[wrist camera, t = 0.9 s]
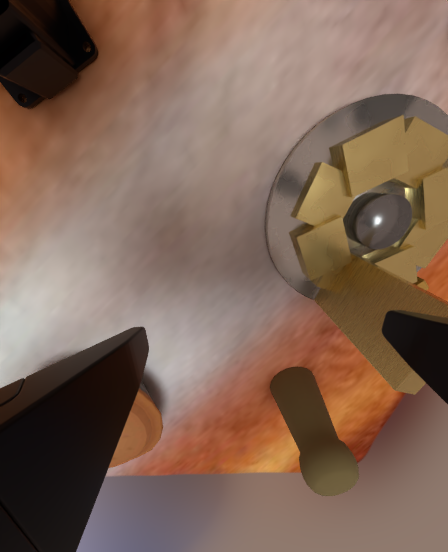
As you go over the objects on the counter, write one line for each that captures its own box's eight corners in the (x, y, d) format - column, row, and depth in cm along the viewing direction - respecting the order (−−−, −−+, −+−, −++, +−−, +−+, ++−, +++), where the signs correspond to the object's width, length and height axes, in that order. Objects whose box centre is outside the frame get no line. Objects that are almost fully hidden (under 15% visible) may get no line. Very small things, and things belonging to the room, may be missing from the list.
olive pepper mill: (263, 377, 29) (296, 485, 19) (308, 360, 28) (366, 461, 18) (278, 404, 31) (313, 512, 21) (319, 389, 31) (375, 492, 21)
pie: (1, 382, 26) (-42, 427, 21) (119, 329, 24) (100, 365, 20) (90, 450, 32) (71, 495, 27) (188, 411, 30) (185, 453, 26)
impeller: (230, 177, 19) (235, 178, 16) (444, 43, 16) (498, 14, 13) (305, 325, 26) (319, 345, 23) (462, 246, 24) (500, 257, 21)
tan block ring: (348, 90, 16) (573, -38, 6) (484, 167, 19) (772, 160, 9) (258, 283, 21) (304, 370, 12) (374, 318, 25) (484, 409, 15)
